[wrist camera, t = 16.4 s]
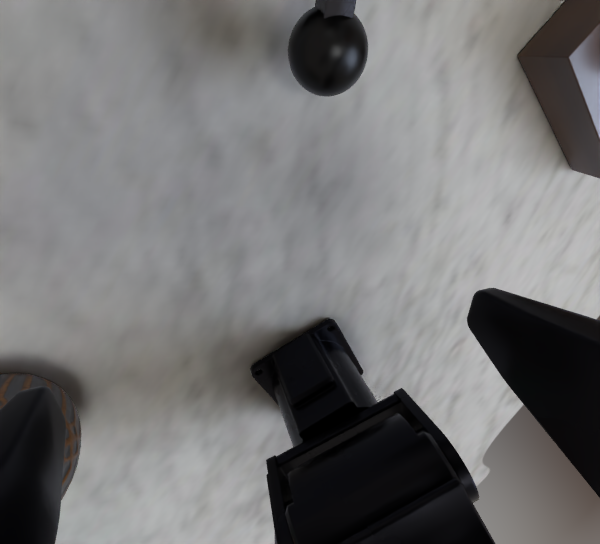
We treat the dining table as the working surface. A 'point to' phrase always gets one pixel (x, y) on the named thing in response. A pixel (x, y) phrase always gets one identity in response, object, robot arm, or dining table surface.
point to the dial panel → (570, 80)
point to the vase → (11, 384)
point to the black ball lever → (328, 48)
